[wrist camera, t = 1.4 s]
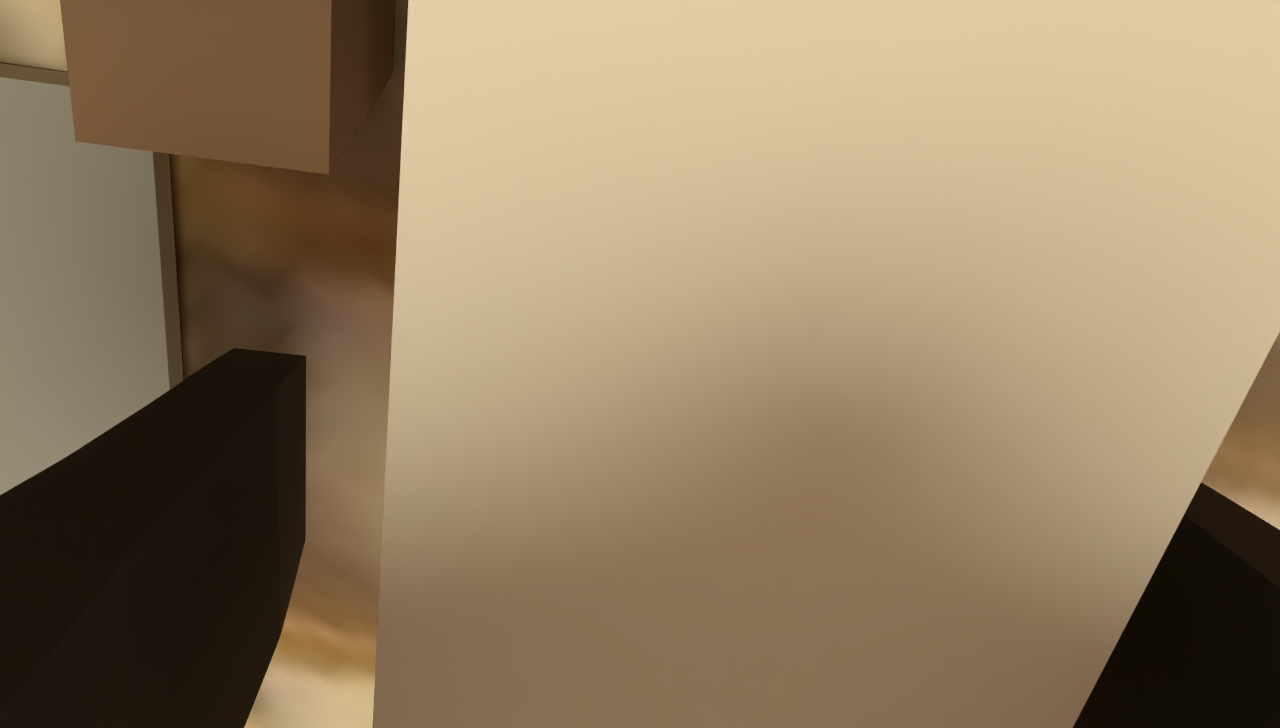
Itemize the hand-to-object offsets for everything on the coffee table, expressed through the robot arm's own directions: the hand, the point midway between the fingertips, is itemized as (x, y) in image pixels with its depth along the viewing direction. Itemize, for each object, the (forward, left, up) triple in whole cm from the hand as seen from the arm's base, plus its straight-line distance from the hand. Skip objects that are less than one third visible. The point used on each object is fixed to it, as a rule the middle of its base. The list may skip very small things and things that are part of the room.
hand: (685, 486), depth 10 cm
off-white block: (+3, 0, -4) cm, 5 cm away
